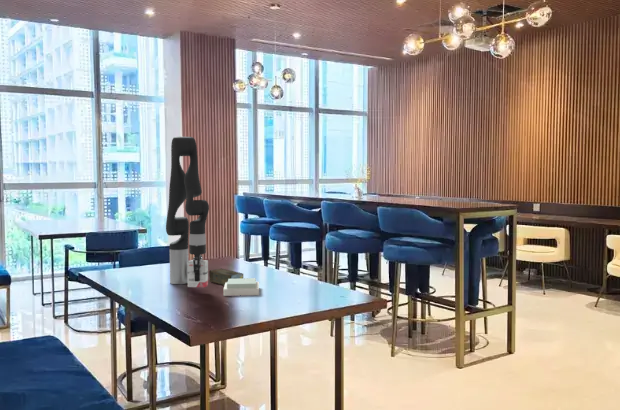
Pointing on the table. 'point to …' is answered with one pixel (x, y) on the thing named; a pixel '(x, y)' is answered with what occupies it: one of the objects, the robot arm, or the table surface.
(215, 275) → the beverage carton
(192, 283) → the ink box
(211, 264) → the table surface
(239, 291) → the mint framed tile
